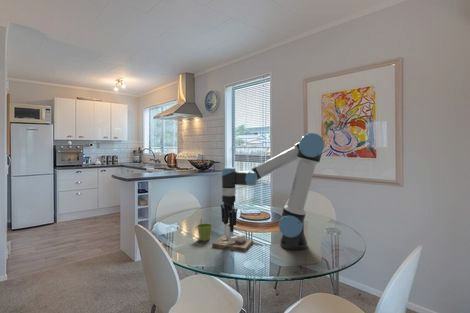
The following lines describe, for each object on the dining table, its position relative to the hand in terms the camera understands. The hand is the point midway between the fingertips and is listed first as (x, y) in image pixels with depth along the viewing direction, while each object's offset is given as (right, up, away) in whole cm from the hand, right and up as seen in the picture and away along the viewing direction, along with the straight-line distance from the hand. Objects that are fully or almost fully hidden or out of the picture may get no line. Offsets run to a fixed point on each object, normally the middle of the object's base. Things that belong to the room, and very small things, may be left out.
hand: (228, 236), depth 152 cm
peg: (+3, -4, +2) cm, 5 cm away
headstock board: (+2, -6, +4) cm, 8 cm away
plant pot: (-15, -6, +14) cm, 22 cm away
